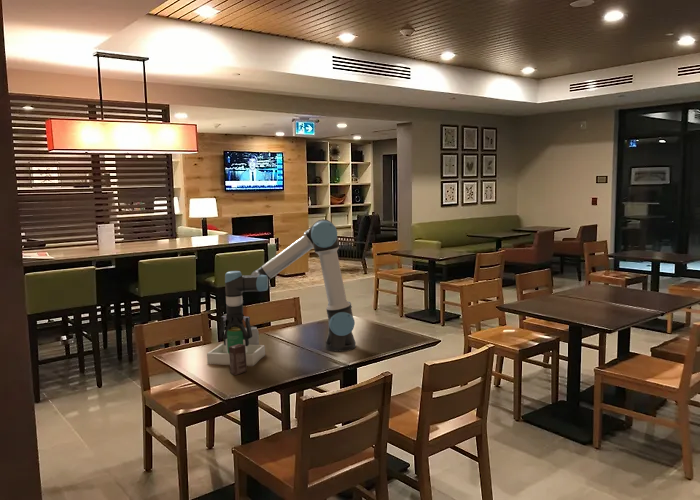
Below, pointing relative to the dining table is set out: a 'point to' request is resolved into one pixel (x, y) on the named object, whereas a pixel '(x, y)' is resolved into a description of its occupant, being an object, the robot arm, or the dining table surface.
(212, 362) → the bus tub
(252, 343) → the can
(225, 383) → the dining table surface
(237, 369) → the box
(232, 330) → the beverage can
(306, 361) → the dining table surface
